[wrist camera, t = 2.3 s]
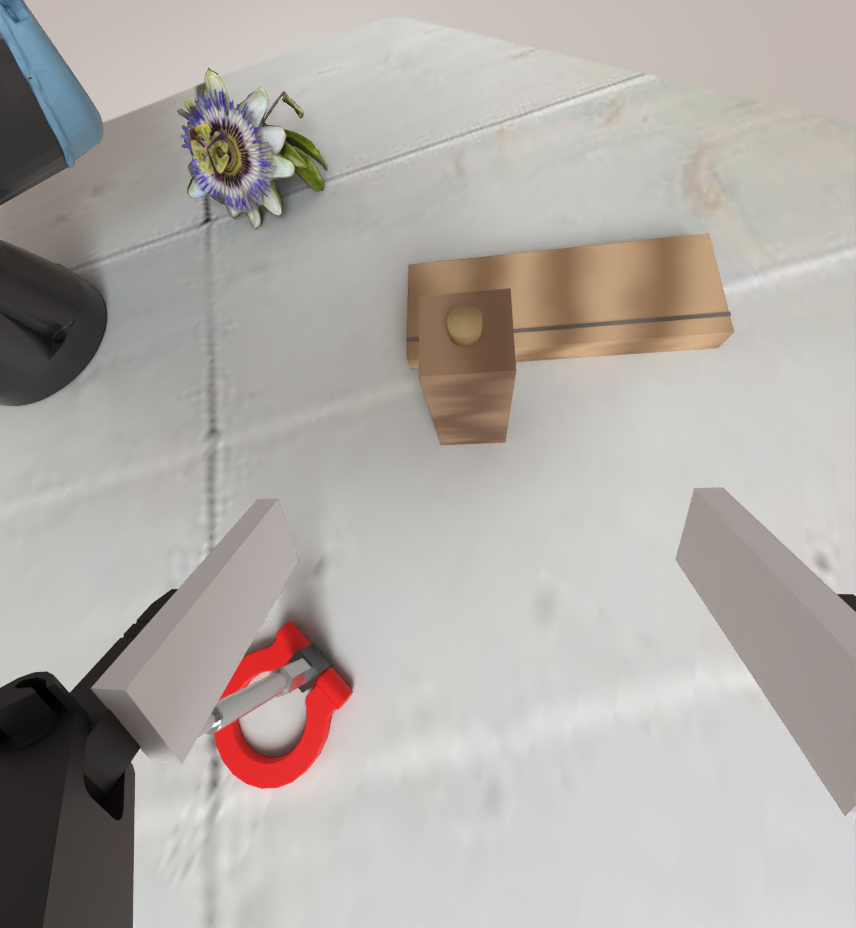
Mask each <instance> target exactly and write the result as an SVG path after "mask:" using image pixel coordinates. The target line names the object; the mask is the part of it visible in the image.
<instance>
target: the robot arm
mask: <svg viewBox="0 0 856 928" xmlns="http://www.w3.org/2000/svg"><path fill="white" fill-rule="evenodd" d="M102 134H103V123H102V120H101V116H100V114H99V112H98V110H97V109H96V107H95V105H94V104H93V102H92V101H91V100H90V98H89V96H88V95H87V93H86V92H85V90H84V89H83V87H82V86H81V84H80V83H79V81H78V80H77V78H76V77H75V75H74V74H73V72H72V71H71V69H70V68H69V66H68V65H67V64H66V62H65V61H64V59H63V58H62V56H61V55H60V53H59V52H58V50H57V49H56V47H55V46H54V45H53V43H52V42H51V40H50V39H49V37H48V36H47V34H46V33H45V31H44V30H43V29H42V27H41V26H40V24H39V23H38V21H37V20H36V18H35V17H34V15H33V14H32V13H31V11H30V10H29V9H28V7H27V6H26V4H25V3H24V1H23V0H0V205H2V204H3V203H5V202H7V201H9V200H11V199H12V198H14V197H16V196H18V195H19V194H21V193H23V192H25V191H26V190H28V189H30V188H32V187H34V186H35V185H37V184H39V183H41V182H42V181H44V180H46V179H48V178H49V177H51V176H53V175H55V174H57V173H58V172H60V171H62V170H64V169H65V168H71V167H72V166H74V164H75V160H76V159H78V158H79V157H80V156H82V155H83V154H85V153H86V152H87V151H89V150H90V149H92V148H93V147H94V146H96V145H97V144H98V143H99V142H100V140H101V138H102ZM105 320H106V312H105V305H104V302H103V299H102V297H101V295H100V294H99V292H98V291H97V290H96V289H95V288H94V287H93V286H92V285H90V284H89V283H88V282H86V281H85V280H84V279H82V278H81V277H80V276H78V275H77V274H76V273H74V272H73V271H71V270H69V269H68V268H66V267H64V266H62V265H59V264H56V263H53V262H51V261H49V260H46V259H44V258H42V257H40V256H38V255H35V254H33V253H31V252H28V251H26V250H24V249H21V248H19V247H17V246H14V245H12V244H9V243H7V242H5V241H2V240H0V405H6V406H20V405H26V404H30V403H34V402H37V401H39V400H42V399H44V398H46V397H48V396H50V395H52V394H54V393H56V392H57V391H59V390H60V389H62V388H63V387H64V386H66V385H67V384H68V383H69V382H71V381H72V380H73V379H74V378H75V377H76V376H77V375H78V374H79V373H80V372H81V371H82V370H83V369H84V367H85V366H86V365H87V364H88V362H89V361H90V359H91V358H92V356H93V355H94V353H95V351H96V349H97V348H98V345H99V343H100V341H101V338H102V335H103V332H104V328H105ZM298 561H299V559H298V556H297V553H296V550H295V547H294V544H293V541H292V538H291V535H290V532H289V529H288V526H287V523H286V520H285V517H284V514H283V511H282V508H281V505H280V502H279V499H257V501H256V502H255V503H254V504H253V505H252V506H251V507H250V509H249V510H248V511H247V512H246V513H245V514H244V515H243V516H242V518H241V519H240V520H239V521H238V522H237V523H236V524H235V525H234V527H233V528H232V529H231V530H230V531H229V532H228V533H227V535H226V536H225V537H224V538H223V539H222V540H221V541H220V542H219V544H218V545H217V546H216V547H215V548H214V549H213V550H212V552H211V553H210V554H209V555H208V556H207V557H206V558H205V559H204V561H203V562H202V563H201V564H200V565H199V566H198V567H197V569H196V570H195V571H194V572H193V573H192V574H191V575H190V576H189V578H188V579H187V580H186V581H185V582H184V583H183V584H182V585H181V587H180V588H179V589H172V590H170V591H169V592H167V593H166V594H165V595H163V596H162V597H160V598H159V599H158V600H156V601H155V602H154V603H152V604H151V605H150V606H149V607H148V609H147V610H146V611H145V612H144V613H143V614H142V615H141V616H140V617H139V618H138V619H137V623H136V624H133V625H132V626H131V627H130V628H129V629H128V630H127V631H126V632H125V633H124V637H123V638H120V639H119V640H118V641H117V642H116V643H115V644H114V645H113V647H112V648H111V649H110V650H109V651H108V652H107V653H106V654H105V655H104V656H103V657H102V658H101V660H100V661H99V662H98V663H97V664H96V665H95V666H94V667H93V668H92V669H91V670H90V671H89V673H88V674H87V675H86V676H85V677H84V678H83V679H82V680H81V681H80V682H79V683H78V684H77V686H76V687H75V688H74V689H73V690H72V691H71V692H70V693H69V692H68V691H67V690H66V689H65V687H64V686H63V685H62V684H61V683H60V682H59V681H58V680H57V678H56V677H55V676H54V675H52V674H50V673H49V672H47V671H46V672H34V673H31V674H28V675H25V676H23V677H20V678H17V679H16V680H14V681H12V682H10V683H8V684H6V685H5V686H3V687H1V688H0V928H133V871H134V804H135V772H134V768H133V765H132V764H131V761H132V759H133V758H134V756H135V755H136V753H137V752H138V750H139V749H140V748H141V750H142V751H143V752H144V753H145V754H146V756H147V757H148V758H149V759H150V760H151V762H160V763H172V764H182V763H183V762H184V760H185V758H186V756H187V755H188V753H189V751H190V749H191V748H192V746H193V744H194V742H195V741H196V739H197V737H198V735H199V734H200V732H201V730H202V728H203V727H204V725H205V723H206V721H207V720H208V718H209V716H210V714H211V713H212V711H213V709H214V707H215V706H216V704H217V702H218V700H219V699H220V697H221V695H222V693H223V692H224V690H225V688H226V686H227V685H228V683H229V681H230V679H231V678H232V676H233V674H234V672H235V671H236V669H237V667H238V666H239V664H240V662H241V660H242V659H243V657H244V655H245V653H246V652H247V650H248V648H249V646H250V645H251V643H252V641H253V639H254V638H255V636H256V634H257V632H258V631H259V629H260V627H261V625H262V624H263V622H264V620H265V618H266V617H267V615H268V613H269V611H270V610H271V608H272V606H273V604H274V603H275V601H276V599H277V597H278V596H279V594H280V592H281V590H282V589H283V587H284V585H285V583H286V582H287V580H288V578H289V576H290V575H291V573H292V571H293V569H294V568H295V566H296V564H297V563H298ZM676 561H677V562H678V564H679V566H680V567H681V569H682V570H683V572H684V573H685V575H686V576H687V578H688V579H689V581H690V582H691V584H692V585H693V587H694V588H695V590H696V591H697V593H698V594H699V596H700V597H701V599H702V600H703V602H704V603H705V605H706V606H707V608H708V609H709V611H710V612H711V614H712V616H713V617H714V619H715V620H716V622H717V623H718V625H719V626H720V628H721V629H722V631H723V632H724V634H725V635H726V637H727V638H728V640H729V641H730V643H731V644H732V646H733V647H734V649H735V650H736V652H737V653H738V655H739V656H740V658H741V659H742V661H743V662H744V664H745V666H746V667H747V669H748V670H749V672H750V673H751V675H752V676H753V678H754V679H755V681H756V682H757V684H758V685H759V687H760V688H761V690H762V691H763V693H764V694H765V696H766V697H767V699H768V700H769V702H770V703H771V705H772V706H773V708H774V709H775V711H776V712H777V714H778V716H779V717H780V719H781V720H782V722H783V723H784V725H785V726H786V728H787V729H788V731H789V732H790V734H791V735H792V737H793V738H794V740H795V741H796V743H797V744H798V746H799V747H800V749H801V750H802V752H803V753H804V755H805V756H806V758H807V759H808V761H809V762H810V764H811V766H812V767H813V769H814V770H815V772H816V773H817V775H818V776H819V778H820V779H821V781H822V782H823V784H824V785H825V787H826V788H827V790H828V791H829V793H830V794H831V796H832V797H833V799H834V800H835V802H836V803H837V805H838V806H839V808H840V809H841V811H842V812H843V814H844V816H845V817H856V596H855V595H853V594H836V593H835V592H834V591H833V590H832V589H830V588H829V587H828V586H827V585H826V584H825V583H824V582H823V581H822V580H821V579H820V578H819V577H818V576H817V575H816V574H814V573H813V572H812V571H811V570H810V569H809V568H808V567H807V566H806V565H805V564H804V563H803V562H802V561H801V560H800V559H798V558H797V557H796V556H795V555H794V554H793V553H792V552H791V551H790V550H789V549H788V548H787V547H786V546H785V545H784V544H782V543H781V542H780V541H779V540H778V539H777V538H776V537H775V536H774V535H773V534H772V533H771V532H770V531H769V530H768V529H766V528H765V527H764V526H763V525H762V524H761V523H760V522H759V521H758V520H757V519H756V518H755V517H754V516H753V515H752V514H751V513H749V512H748V511H747V510H746V509H745V508H744V507H743V506H742V505H741V504H740V503H739V502H738V501H737V500H736V499H735V498H733V497H732V496H731V495H730V494H729V493H728V492H727V491H726V490H725V489H724V488H694V492H693V495H692V499H691V503H690V507H689V511H688V514H687V518H686V522H685V526H684V529H683V533H682V537H681V541H680V545H679V548H678V552H677V556H676Z"/></svg>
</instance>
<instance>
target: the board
mask: <svg viewBox="0 0 856 928" xmlns="http://www.w3.org/2000/svg"><path fill="white" fill-rule="evenodd" d="M507 288H511V300H512V315H513V330H514V345H515V360H516V362H519V361H533V360H548V359H563V358H577V357H592V356H606V355H621V354H635V353H650V352H665V351H679V350H694V349H708V348H718V347H719V346H720V345H721V344H722V343H724V342H725V341H726V340H727V339H728V338H729V337H730V336H731V335H732V334H733V333H734V330H733V326H732V322H731V318H730V316H731V314H730V312H729V310H728V306H727V302H726V298H725V294H724V290H723V286H722V283H721V279H720V275H719V271H718V267H717V263H716V259H715V255H714V251H713V247H712V243H711V239H710V235H709V233H707V234H698V235H688V236H679V237H669V238H660V239H650V240H641V241H631V242H622V243H612V244H603V245H593V246H583V247H574V248H564V249H555V250H545V251H536V252H526V253H517V254H507V255H498V256H488V257H479V258H469V259H460V260H450V261H441V262H431V263H422V264H412V265H409V275H408V320H407V358H408V361H409V364H410V367H411V369H417V368H419V310H420V297H422V296H433V295H444V294H454V293H465V292H475V291H486V290H496V289H507Z"/></svg>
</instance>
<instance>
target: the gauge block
mask: <svg viewBox="0 0 856 928" xmlns="http://www.w3.org/2000/svg"><path fill="white" fill-rule="evenodd" d="M515 375H516V360H515V345H514V330H513V315H512V300H511V288H507V289H496V290H486V291H475V292H465V293H454V294H444V295H433V296H422V297H420V310H419V379H420V382H421V385H422V388H423V391H424V395H425V398H426V401H427V404H428V407H429V410H430V413H431V416H432V419H433V422H434V425H435V428H436V431H437V434H438V437H439V440H440V443H441V445H455V444H479V443H503V442H505V440H506V433H507V427H508V420H509V414H510V407H511V401H512V394H513V388H514V381H515Z"/></svg>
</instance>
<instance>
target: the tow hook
mask: <svg viewBox="0 0 856 928" xmlns="http://www.w3.org/2000/svg"><path fill="white" fill-rule="evenodd" d="M276 638H277V640H276V641H275V642H274V643H273V644H272V645H271V647H265V648H263V649H260V650H258V651H255V652H253V653H250V654H248V655H247V656H245V657H244V658H243V659H242V660H241V662H240V664H239V666H238V667H237V669H236V671H235V672H234V674H233V676H232V678H231V679H230V681H229V683H228V685H227V686H226V688H225V690H224V692H223V693H222V695H221V697H220V699H219V700H218V702H217V704H216V706H215V707H214V709H213V711H212V713H211V714H210V716H209V718H208V720H207V721H206V723H205V725H204V727H203V728H202V730H201V732H200V734H199V735H198V737H199V736H201V735H203V734H204V733H206V734H214V735H215V741H216V746H217V748H218V751H219V753H220V755H221V758H222V760H223V762H224V763H225V764H226V766H227V767H228V768H229V770H230V771H231V772H232V774H233V775H235V776H236V777H237V778H239V779H240V780H242V781H243V782H244V783H246V784H248V785H251V786H255V787H258V788H261V789H263V788H278V787H281V786H284V785H286V784H289V783H291V782H293V781H294V780H296V779H297V778H298V777H300V776H301V775H302V774H303V773H305V772H306V771H307V770H308V769H309V768H310V767H311V765H312V764H313V763H314V761H315V760H316V759H317V757H318V756H319V755H320V753H321V751H322V749H323V747H324V744H325V742H326V740H327V737H328V734H329V729H330V723H331V718H332V716H331V715H332V714H333V713H334V711H335V710H336V709H337V710H338V709H339V708H341V707H342V705H343V704H344V703H345V702H346V701H347V700H348V699H349V698H350V696H351V695H352V693H353V691H352V690H351V689H350V688H349V686H348V685H347V684H346V683H345V682H344V681H343V680H342V679H341V677H340V676H339V675H338V674H337V673H336V672H335V671H334V669H333V668H332V665H331V664H330V662H329V661H328V660H327V659H326V658H325V657H324V656H323V654H322V653H321V652H320V651H319V650H318V649H317V648H316V646H315V645H314V644H311V643H310V642H309V641H308V640H307V639H306V637H305V636H304V635H303V634H302V633H301V632H300V631H299V629H298V628H297V627H296V626H295V625H294V624H293V623H292V622H289V623H287V624H286V625H284V626H283V627H282V628H281V629H280V630H279V631H278V632H277V634H276ZM265 671H271V673H270V675H269V676H268V677H265V678H263V679H261V680H259V681H257V682H255V683H253V684H251V685H249V686H247V685H248V684H249V683H250V682H251V680H252V679H253V678H254V677H256V676H257V675H258V674H260V673H262V672H265ZM315 684H316V686H315V687H314V688H313V689H312V690H311V692H310V693H309V694H308V695H307V696H306V700H305V703H306V710H307V720H306V725H305V730H304V733H303V735H302V737H301V739H300V742H299V743H298V744H297V746H296V747H295V748H294V750H292V751H291V752H290V753H288V754H286V755H283V756H281V757H270V758H269V757H266V756H262V755H259V754H258V753H257V752H255V751H254V750H252V749H251V748H250V746H249V745H248V744H247V743H246V742H245V740H244V738H243V735H242V733H241V731H240V726H239V720H238V719H239V718H241V717H243V716H244V715H246V714H248V713H249V712H251V711H253V710H255V709H256V708H258V707H260V706H261V705H263V704H265V703H266V702H268V701H270V700H271V699H273V698H275V697H280V696H283V695H285V694H288V693H290V692H292V691H293V690H295V689H296V688H299V689H300V690H301V692H305V691H306V690H308V689H309V688H311V687H312V686H314V685H315ZM198 737H197V738H198Z"/></svg>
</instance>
